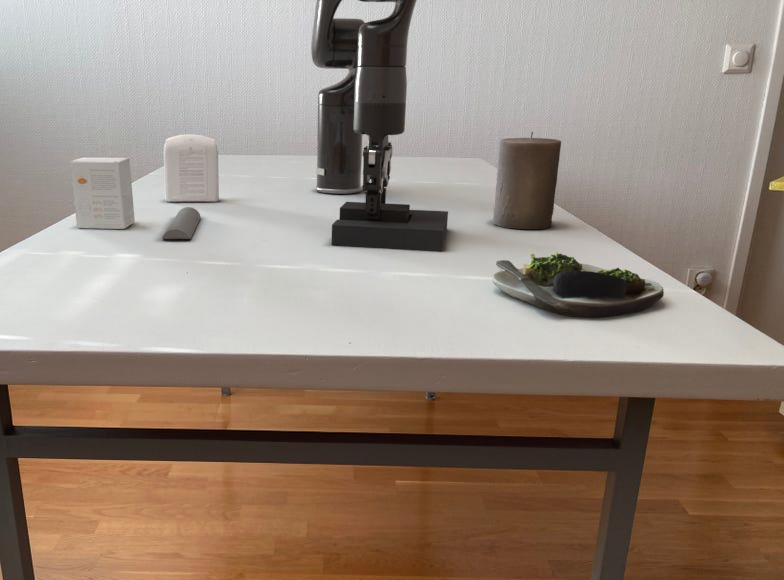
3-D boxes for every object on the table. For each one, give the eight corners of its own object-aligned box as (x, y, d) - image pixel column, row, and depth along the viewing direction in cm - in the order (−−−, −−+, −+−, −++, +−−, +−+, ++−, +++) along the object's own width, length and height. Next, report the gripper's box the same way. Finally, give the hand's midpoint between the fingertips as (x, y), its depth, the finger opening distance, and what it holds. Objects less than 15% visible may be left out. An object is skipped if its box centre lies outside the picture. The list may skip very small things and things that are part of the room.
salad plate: (446, 282, 94) (449, 245, 93) (553, 266, 103) (557, 231, 101) (569, 327, 79) (575, 283, 77) (682, 303, 87) (690, 263, 85)
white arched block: (219, 198, 152) (217, 133, 148) (219, 202, 148) (218, 135, 144) (165, 199, 151) (162, 133, 146) (165, 203, 147) (161, 135, 143)
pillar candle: (564, 228, 128) (576, 133, 122) (514, 231, 124) (524, 134, 119) (527, 217, 136) (537, 128, 131) (480, 221, 133) (488, 129, 128)
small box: (135, 223, 128) (131, 157, 124) (124, 229, 123) (119, 161, 119) (88, 221, 129) (82, 156, 125) (75, 228, 124) (69, 160, 120)
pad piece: (345, 220, 123) (346, 201, 122) (408, 223, 121) (409, 204, 120) (339, 227, 118) (339, 207, 117) (405, 231, 116) (406, 210, 115)
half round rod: (161, 241, 115) (160, 229, 114) (176, 217, 133) (175, 207, 133) (189, 241, 115) (189, 229, 115) (201, 217, 133) (200, 207, 133)
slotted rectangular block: (348, 225, 128) (349, 206, 127) (446, 229, 125) (448, 211, 124) (331, 245, 114) (331, 224, 113) (441, 251, 111) (443, 230, 110)
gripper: (401, 102, 106) (394, 225, 112) (410, 98, 119) (404, 208, 125) (346, 101, 107) (343, 222, 113) (361, 97, 120) (358, 206, 126)
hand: (375, 214), depth 119 cm, fingers closed on pad piece, 6 cm apart
